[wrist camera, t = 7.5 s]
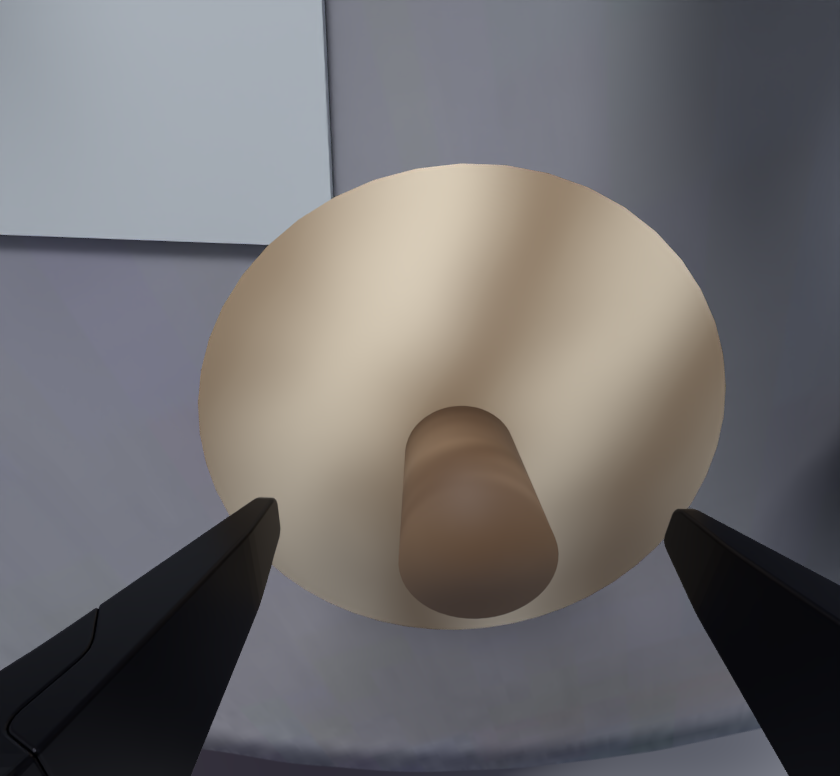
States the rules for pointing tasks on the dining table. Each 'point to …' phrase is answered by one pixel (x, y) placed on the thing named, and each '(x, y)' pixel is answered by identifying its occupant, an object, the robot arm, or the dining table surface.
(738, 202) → the dining table surface
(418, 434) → the lid
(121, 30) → the mat
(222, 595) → the robot arm
